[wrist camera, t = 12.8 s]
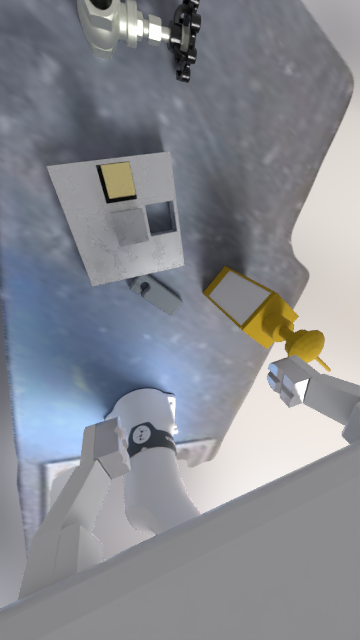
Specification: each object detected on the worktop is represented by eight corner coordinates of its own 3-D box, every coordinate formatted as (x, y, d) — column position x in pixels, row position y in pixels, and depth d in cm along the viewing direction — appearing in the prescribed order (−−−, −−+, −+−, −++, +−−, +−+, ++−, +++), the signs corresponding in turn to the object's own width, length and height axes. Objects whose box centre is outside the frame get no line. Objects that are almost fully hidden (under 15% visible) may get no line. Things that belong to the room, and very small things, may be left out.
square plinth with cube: (179, 261, 39) (194, 273, 32) (93, 280, 36) (90, 298, 29) (165, 155, 31) (180, 142, 24) (51, 169, 28) (33, 158, 21)
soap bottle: (237, 320, 50) (320, 394, 31) (202, 293, 44) (279, 365, 24) (258, 297, 49) (358, 359, 29) (225, 265, 42) (326, 318, 23)
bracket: (169, 312, 44) (171, 316, 42) (128, 285, 39) (129, 289, 37) (180, 298, 43) (183, 302, 42) (140, 269, 38) (142, 271, 36)
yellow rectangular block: (124, 171, 30) (129, 162, 24) (130, 196, 32) (135, 194, 25) (102, 174, 30) (100, 165, 23) (109, 199, 31) (109, 198, 25)
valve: (86, 74, 25) (180, 94, 28) (79, 37, 19) (198, 67, 23) (75, -17, 22) (183, 18, 25) (64, -92, 16) (204, -35, 19)
